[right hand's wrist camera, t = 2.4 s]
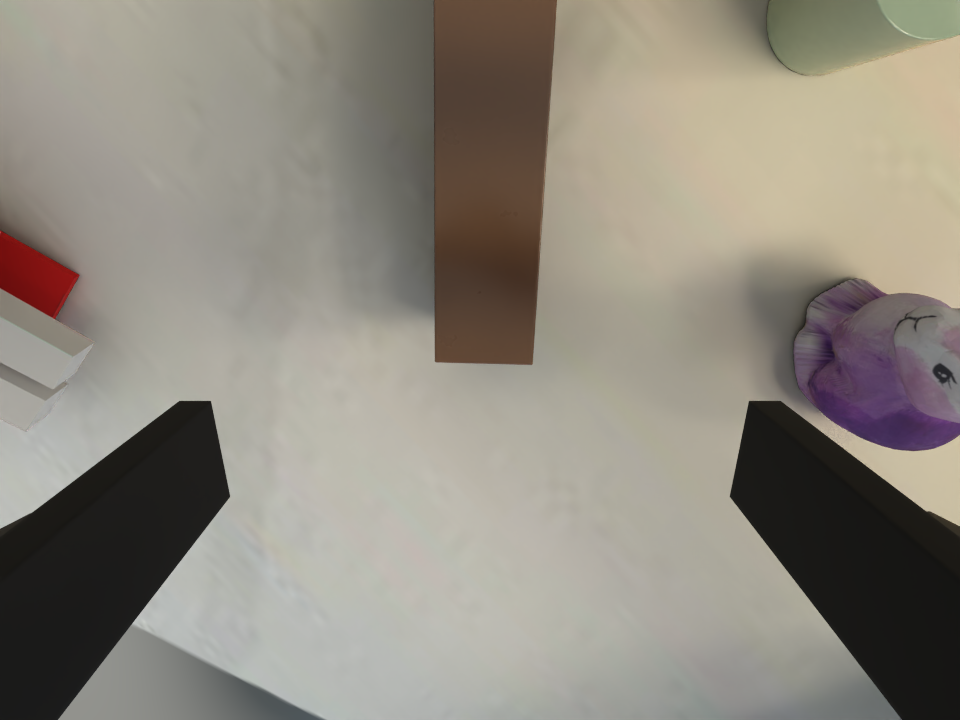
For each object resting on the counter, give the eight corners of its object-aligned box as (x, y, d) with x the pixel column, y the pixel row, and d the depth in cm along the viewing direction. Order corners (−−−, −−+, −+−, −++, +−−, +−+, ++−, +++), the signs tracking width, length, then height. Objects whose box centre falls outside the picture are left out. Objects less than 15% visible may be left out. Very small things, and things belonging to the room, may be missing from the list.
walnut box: (447, -146, 25) (432, -282, 18) (547, -143, 25) (575, -278, 18) (445, 320, 33) (434, 362, 26) (521, 322, 33) (532, 365, 26)
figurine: (806, 257, 32) (1066, 323, 18) (952, 298, 33) (1310, 392, 18) (742, 391, 35) (919, 538, 21) (876, 426, 36) (1133, 589, 22)
